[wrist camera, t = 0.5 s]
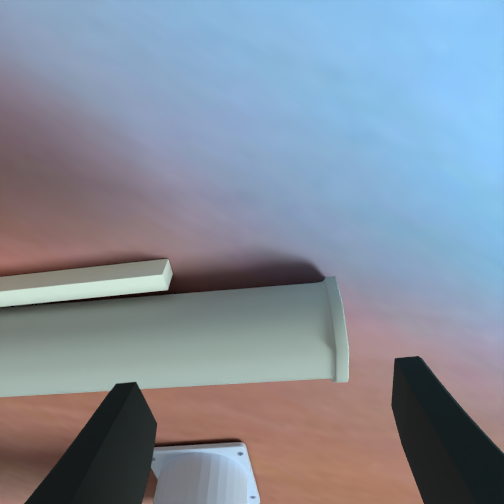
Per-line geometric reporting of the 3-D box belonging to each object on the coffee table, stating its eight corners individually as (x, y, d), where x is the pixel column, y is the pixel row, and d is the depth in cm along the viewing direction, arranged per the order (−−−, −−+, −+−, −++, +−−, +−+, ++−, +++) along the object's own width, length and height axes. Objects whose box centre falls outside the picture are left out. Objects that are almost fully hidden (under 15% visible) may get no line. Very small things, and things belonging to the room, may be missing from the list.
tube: (-87, 421, 22) (344, 399, 20) (-180, 392, 18) (353, 360, 16) (-45, 337, 26) (330, 309, 23) (-115, 296, 21) (334, 257, 19)
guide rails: (201, 362, 24) (198, 380, 23) (-28, 381, 26) (-42, 399, 25) (168, 258, 20) (162, 274, 19) (-107, 288, 21) (-128, 304, 20)
